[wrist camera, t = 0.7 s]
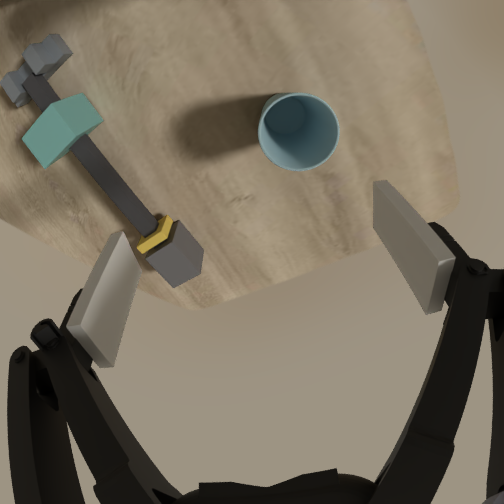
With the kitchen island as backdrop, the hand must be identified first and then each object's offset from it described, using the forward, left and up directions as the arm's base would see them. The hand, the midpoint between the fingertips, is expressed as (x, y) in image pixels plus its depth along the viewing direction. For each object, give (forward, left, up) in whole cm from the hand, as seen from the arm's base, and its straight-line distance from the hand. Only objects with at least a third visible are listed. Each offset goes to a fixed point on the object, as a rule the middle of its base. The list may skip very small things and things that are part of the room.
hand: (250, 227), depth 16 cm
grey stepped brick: (-24, -17, -25) cm, 38 cm away
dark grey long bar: (-6, -17, -24) cm, 30 cm away
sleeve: (-14, -17, -25) cm, 33 cm away
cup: (+1, +5, -26) cm, 26 cm away
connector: (+9, -17, -25) cm, 32 cm away
